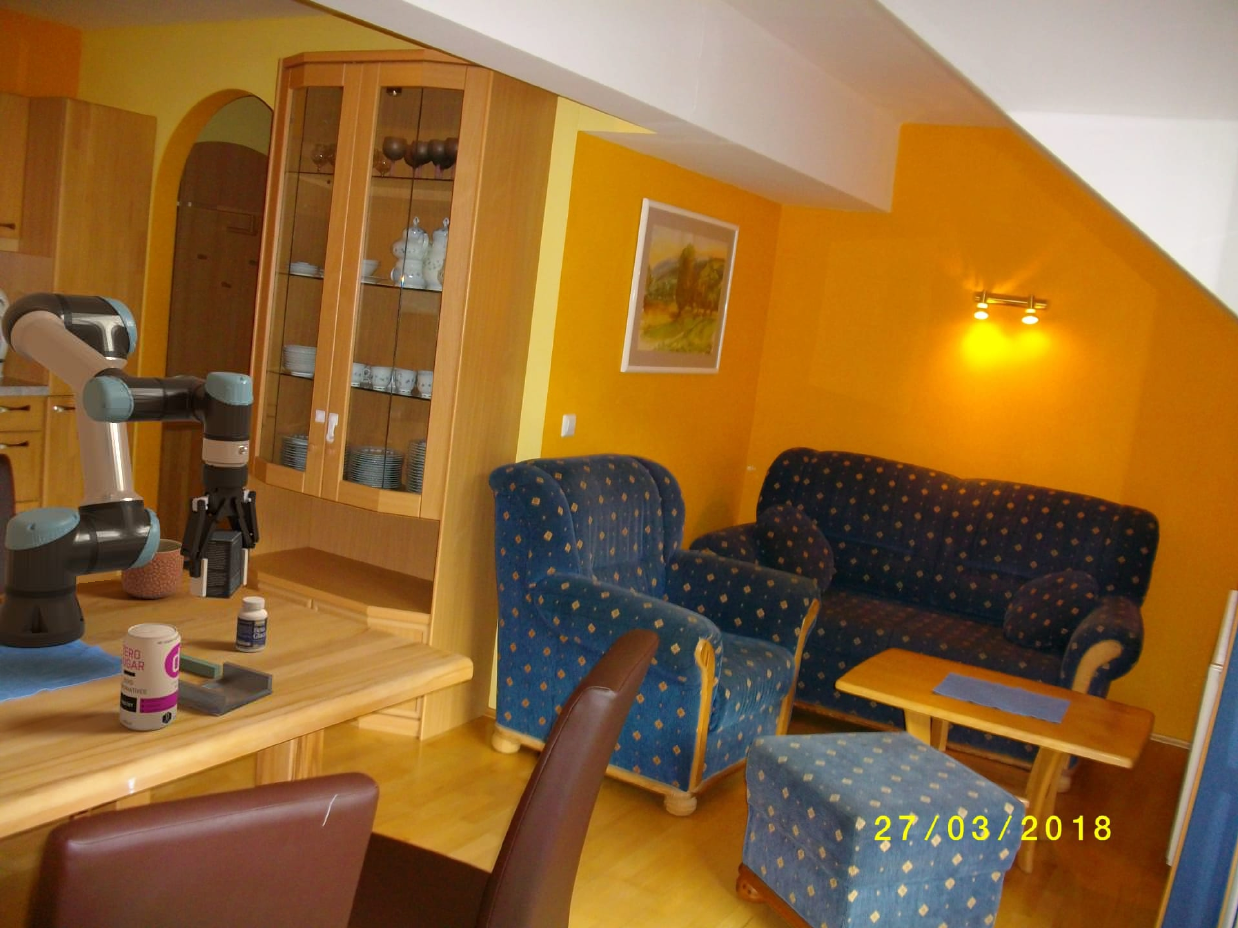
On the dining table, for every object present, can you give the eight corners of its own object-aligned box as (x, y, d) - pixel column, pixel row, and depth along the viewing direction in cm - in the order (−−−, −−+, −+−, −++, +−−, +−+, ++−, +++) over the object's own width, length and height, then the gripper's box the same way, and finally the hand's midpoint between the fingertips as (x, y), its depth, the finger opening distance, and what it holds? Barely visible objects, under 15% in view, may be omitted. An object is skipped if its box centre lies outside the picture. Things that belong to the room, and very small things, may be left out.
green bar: (154, 660, 189) (154, 649, 188) (160, 658, 190) (161, 647, 190) (214, 678, 184) (214, 667, 183) (220, 676, 185) (221, 665, 185)
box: (208, 585, 186) (211, 527, 185) (240, 587, 187) (244, 530, 185) (195, 597, 178) (198, 537, 177) (229, 599, 179) (232, 539, 178)
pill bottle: (255, 654, 197) (258, 605, 196) (229, 649, 198) (232, 600, 197) (270, 646, 202) (273, 598, 201) (245, 641, 203) (248, 593, 202)
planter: (186, 601, 223) (189, 551, 222) (122, 604, 217) (125, 553, 215) (176, 585, 234) (179, 537, 232) (115, 587, 227) (117, 538, 225)
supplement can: (184, 713, 168) (189, 624, 166) (163, 734, 160) (168, 641, 158) (133, 708, 168) (137, 619, 165) (109, 729, 159) (114, 635, 157)
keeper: (171, 701, 172) (172, 681, 171) (228, 679, 184) (229, 660, 183) (218, 716, 168) (219, 696, 168) (273, 692, 180) (274, 673, 180)
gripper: (195, 472, 168) (188, 607, 171) (285, 460, 188) (278, 580, 191) (159, 465, 171) (153, 598, 174) (252, 454, 191) (245, 573, 194)
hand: (218, 588), depth 183 cm, fingers closed on box, 9 cm apart
